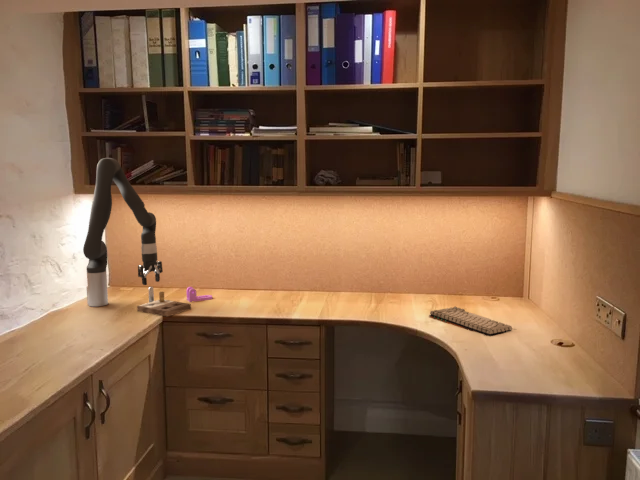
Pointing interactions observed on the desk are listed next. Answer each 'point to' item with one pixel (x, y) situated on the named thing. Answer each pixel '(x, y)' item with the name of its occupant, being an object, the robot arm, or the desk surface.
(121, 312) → the desk surface
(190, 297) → the bracket
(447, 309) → the mechanical keyboard
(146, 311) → the pin board
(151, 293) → the grey metal pin
